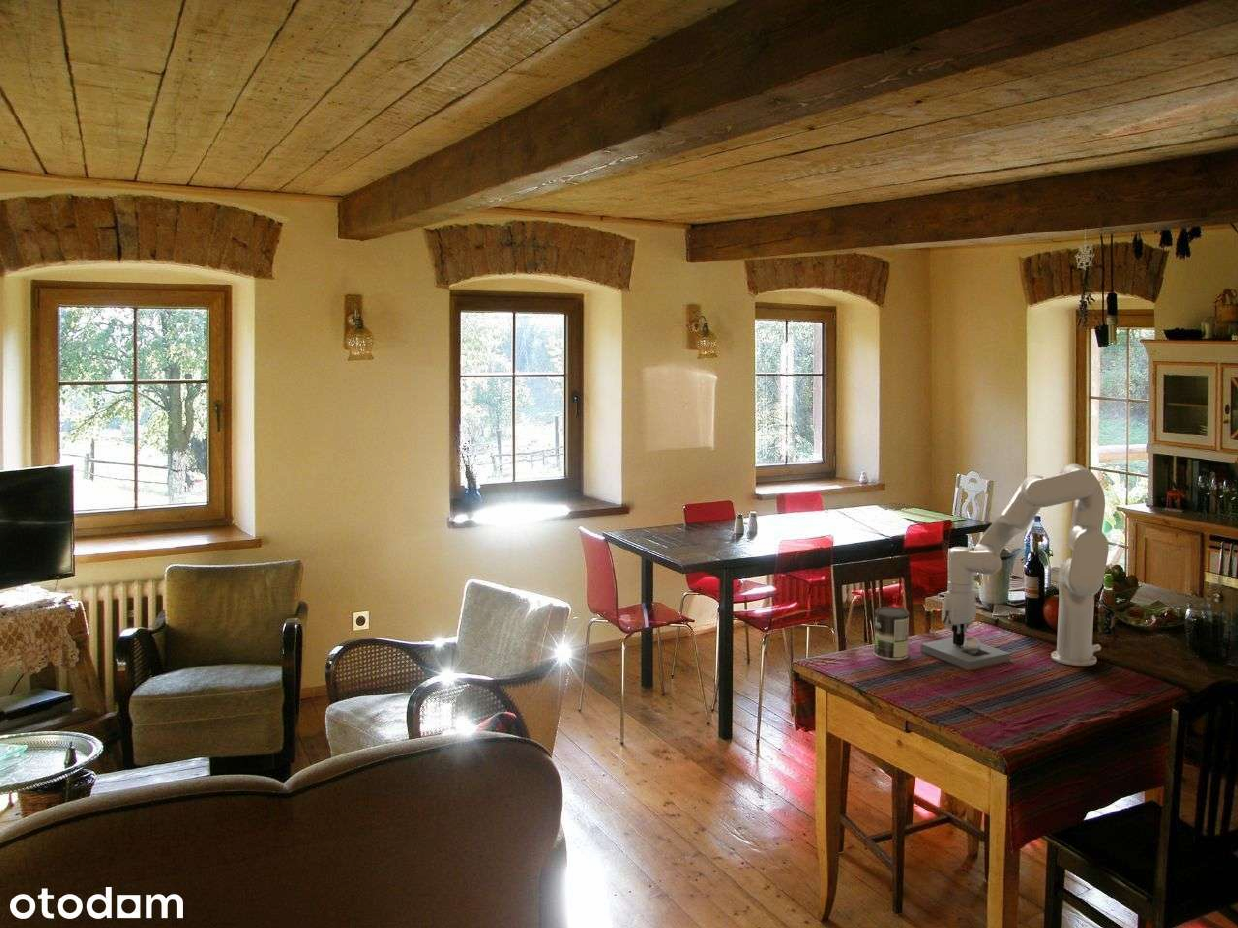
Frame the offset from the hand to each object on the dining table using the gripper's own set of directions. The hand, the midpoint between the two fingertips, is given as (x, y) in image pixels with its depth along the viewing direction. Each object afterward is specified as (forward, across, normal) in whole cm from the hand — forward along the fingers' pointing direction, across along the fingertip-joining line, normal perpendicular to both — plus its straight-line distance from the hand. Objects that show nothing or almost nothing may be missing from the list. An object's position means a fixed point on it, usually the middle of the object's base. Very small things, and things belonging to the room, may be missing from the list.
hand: (958, 644), depth 313 cm
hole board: (+3, 0, +3) cm, 4 cm away
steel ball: (-2, 0, +6) cm, 6 cm away
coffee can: (+3, +19, -9) cm, 21 cm away
